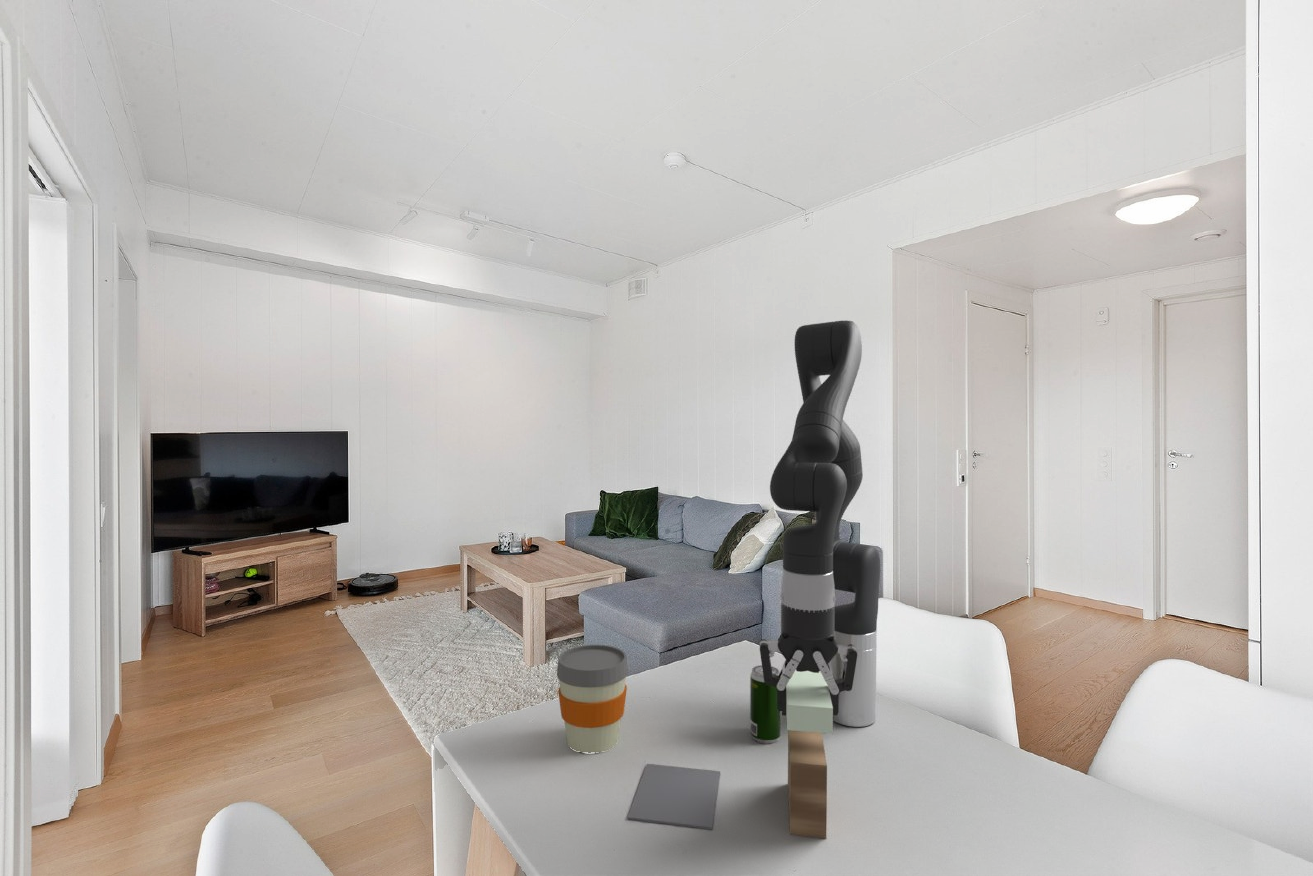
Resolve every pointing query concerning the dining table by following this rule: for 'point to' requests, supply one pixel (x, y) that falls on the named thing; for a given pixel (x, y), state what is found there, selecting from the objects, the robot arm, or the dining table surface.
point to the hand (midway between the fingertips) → (807, 714)
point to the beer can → (763, 708)
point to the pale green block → (808, 703)
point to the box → (807, 784)
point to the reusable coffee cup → (592, 695)
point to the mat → (676, 796)
